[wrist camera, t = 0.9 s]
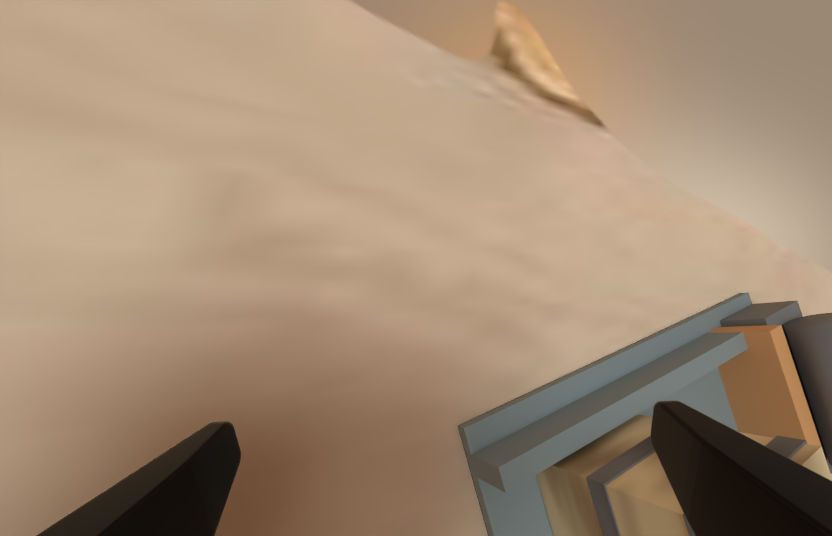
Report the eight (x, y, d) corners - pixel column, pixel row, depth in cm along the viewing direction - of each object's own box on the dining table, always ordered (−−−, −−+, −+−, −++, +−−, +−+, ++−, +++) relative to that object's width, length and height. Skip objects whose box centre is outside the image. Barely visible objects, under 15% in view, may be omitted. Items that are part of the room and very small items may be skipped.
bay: (537, 709, 21) (753, 969, 12) (457, 426, 22) (607, 480, 13) (796, 465, 33) (992, 508, 25) (740, 293, 34) (910, 276, 26)
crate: (572, 605, 22) (808, 787, 13) (528, 456, 22) (727, 531, 13) (653, 537, 25) (889, 646, 16) (614, 407, 25) (821, 442, 17)
